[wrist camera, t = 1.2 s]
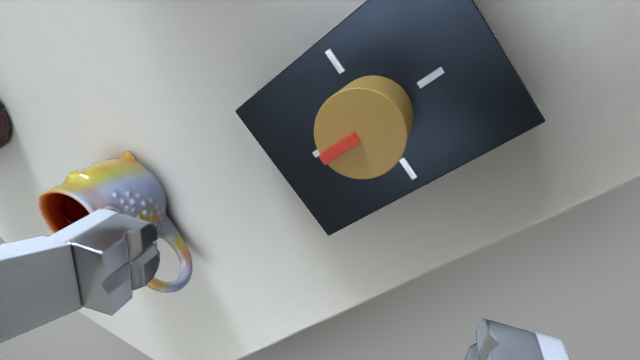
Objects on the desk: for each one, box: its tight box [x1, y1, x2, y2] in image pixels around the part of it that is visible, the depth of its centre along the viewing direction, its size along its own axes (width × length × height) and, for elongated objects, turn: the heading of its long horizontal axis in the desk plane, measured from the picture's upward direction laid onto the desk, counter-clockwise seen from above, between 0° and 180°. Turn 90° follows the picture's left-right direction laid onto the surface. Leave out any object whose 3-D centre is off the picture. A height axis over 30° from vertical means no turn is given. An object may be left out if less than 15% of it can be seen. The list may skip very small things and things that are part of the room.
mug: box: [38, 152, 192, 293], centre depth 30 cm, size 12×7×7 cm, turn 43°
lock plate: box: [236, 0, 545, 235], centre depth 22 cm, size 14×10×3 cm
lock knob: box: [314, 75, 413, 179], centre depth 19 cm, size 4×4×4 cm
